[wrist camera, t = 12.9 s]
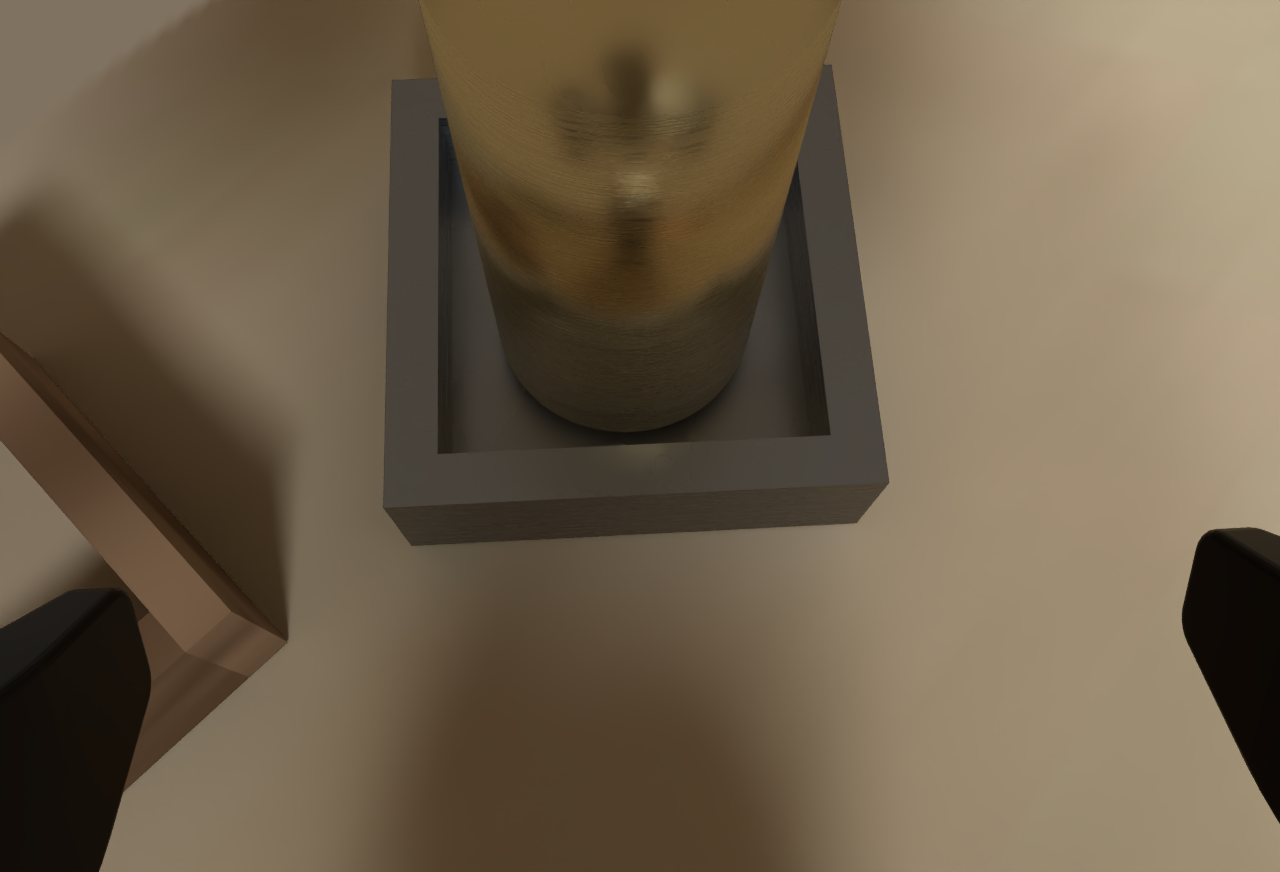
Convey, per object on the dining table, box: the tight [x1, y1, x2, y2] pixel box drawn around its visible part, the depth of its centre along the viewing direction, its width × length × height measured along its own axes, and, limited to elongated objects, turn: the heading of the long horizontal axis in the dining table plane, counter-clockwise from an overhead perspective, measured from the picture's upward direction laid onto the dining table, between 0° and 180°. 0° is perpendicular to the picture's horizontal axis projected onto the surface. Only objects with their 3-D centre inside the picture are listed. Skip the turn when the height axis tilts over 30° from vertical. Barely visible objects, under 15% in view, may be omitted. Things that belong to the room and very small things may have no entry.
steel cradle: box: [383, 65, 889, 546], centre depth 24 cm, size 10×10×3 cm
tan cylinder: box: [419, 0, 841, 432], centre depth 19 cm, size 6×6×11 cm
